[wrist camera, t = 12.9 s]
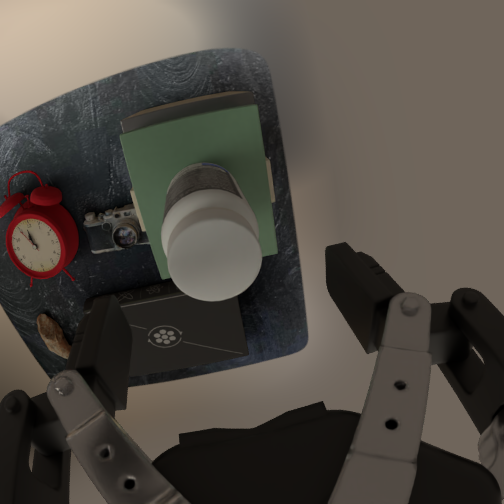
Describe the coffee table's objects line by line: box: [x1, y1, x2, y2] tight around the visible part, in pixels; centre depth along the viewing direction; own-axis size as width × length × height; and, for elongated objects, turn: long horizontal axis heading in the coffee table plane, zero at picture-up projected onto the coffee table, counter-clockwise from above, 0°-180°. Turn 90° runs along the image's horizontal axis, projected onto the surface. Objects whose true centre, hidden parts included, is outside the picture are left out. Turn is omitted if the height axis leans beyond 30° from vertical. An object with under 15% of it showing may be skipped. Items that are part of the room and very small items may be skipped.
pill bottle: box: [161, 163, 262, 301], centre depth 17 cm, size 5×5×8 cm
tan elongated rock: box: [37, 314, 72, 359], centre depth 44 cm, size 10×4×5 cm
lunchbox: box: [120, 104, 278, 279], centre depth 22 cm, size 11×9×4 cm
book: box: [83, 281, 249, 377], centre depth 46 cm, size 22×15×3 cm
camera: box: [83, 203, 150, 254], centre depth 37 cm, size 5×10×4 cm, turn 94°
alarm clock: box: [0, 171, 79, 287], centre depth 34 cm, size 10×6×15 cm
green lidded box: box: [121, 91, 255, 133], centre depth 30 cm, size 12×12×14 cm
